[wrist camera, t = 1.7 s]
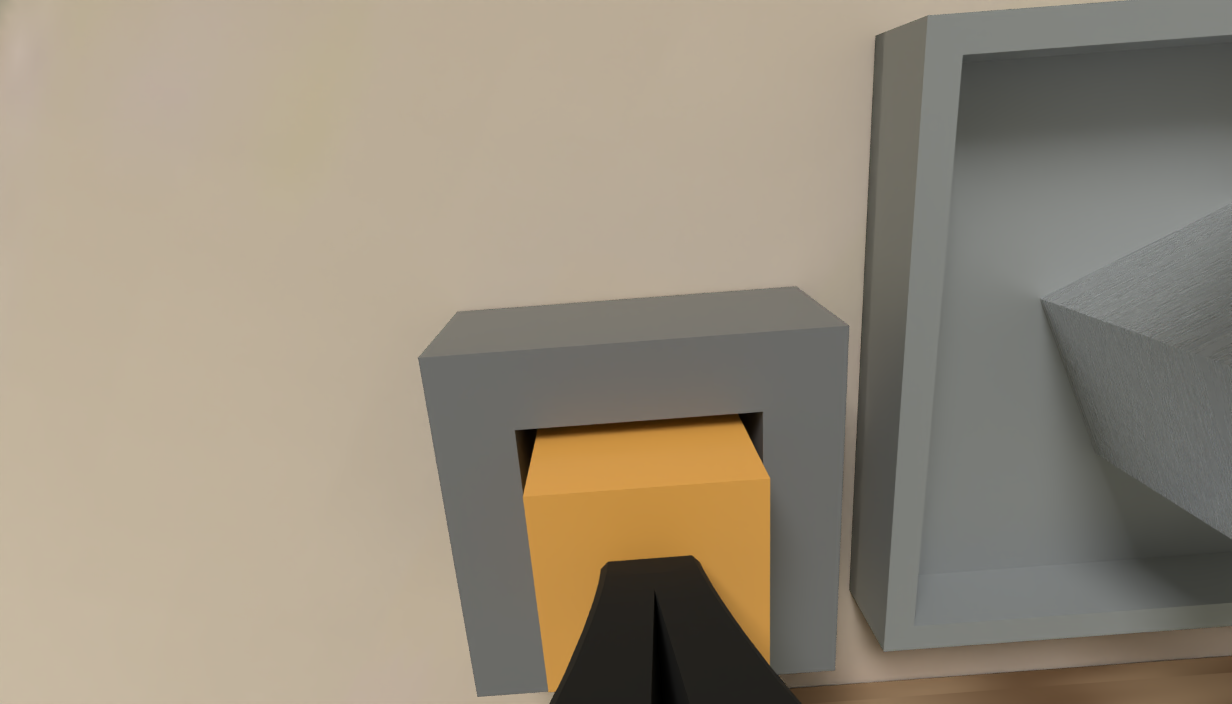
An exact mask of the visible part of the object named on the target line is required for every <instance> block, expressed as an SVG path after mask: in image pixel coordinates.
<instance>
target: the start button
mask: <svg viewBox="0 0 1232 704" xmlns="http://www.w3.org/2000/svg"><path fill="white" fill-rule="evenodd" d="M523 502H524V510H525V517H526V525H527V533H528V540H529V548H530V555H531V563H532V571H533V578H534V586H535V593H536V601H537V609H538V616H539V624H540V631H541V639H542V647H543V654H544V662H545V669H546V677H547V685H548V692H556V690H557V688H558V686H559V684H560V682H561V680H562V678H563V675H564V673H565V671H566V669H567V667H568V664H569V662H570V659H571V657H572V655H573V652H574V650H575V648H576V645H577V643H578V640H579V638H580V636H581V633H582V631H583V628H584V626H585V623H586V620H587V617H588V615H589V612H590V609H591V606H592V603H593V600H594V597H595V593H596V590H597V586H598V582H599V577H600V571H601V568H602V567H603V566H604V565H605V564H606V563H607V562H609V561H622V560H635V559H648V558H661V557H675V556H688V555H692V556H693V557H695V558H696V559H697V560H698V561H699V562H700V563H701V565H702V567H703V569H704V571H705V573H706V575H707V576H708V578H709V580H710V582H711V583H712V585H713V587H714V588H715V590H716V591H717V593H718V595H719V596H720V598H721V599H722V601H723V602H724V604H725V605H726V607H727V608H728V610H729V611H730V613H731V614H732V616H733V617H734V618H735V620H736V621H737V623H738V624H739V625H740V627H741V628H742V630H743V631H744V632H745V634H746V635H747V636H748V638H749V639H750V640H751V642H752V643H753V644H754V645H755V647H756V648H757V649H758V651H759V652H760V653H761V655H762V656H763V657H764V659H765V660H766V661H767V662H768V664H769V665H770V477H769V475H768V473H767V471H766V469H765V467H764V465H763V463H762V461H761V459H760V457H759V455H758V453H757V451H756V449H755V447H754V445H753V443H752V441H751V439H750V437H749V435H748V433H747V431H746V429H745V427H744V425H743V423H742V421H741V419H740V417H739V415H738V414H725V415H711V416H698V417H685V418H671V419H658V420H644V421H631V422H618V423H604V424H591V425H577V426H564V427H551V428H538V431H537V435H536V440H535V444H534V449H533V453H532V458H531V462H530V467H529V471H528V476H527V480H526V485H525V489H524V494H523Z"/></svg>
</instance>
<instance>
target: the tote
mask: <svg viewBox="0 0 1232 704" xmlns="http://www.w3.org/2000/svg"><path fill="white" fill-rule="evenodd" d="M1230 203H1232V0H1127V1H1114V2H1100V3H1087V4H1074V5H1061V6H1047V7H1034V8H1021V9H1008V10H995V11H981V12H968V13H955V14H942V15H928V16H925V17H923V18H920V19H918V20H915V21H912V22H910V23H907V24H905V25H902V26H900V27H897V28H894V29H892V30H889V31H887V32H884V33H882V34H879V35H876V40H875V61H874V82H873V103H872V124H871V145H870V166H869V188H868V209H867V230H866V251H865V272H864V293H863V314H862V336H861V357H860V378H859V399H858V420H857V441H856V462H855V484H854V505H853V526H852V547H851V568H850V589H849V590H850V592H851V593H852V595H853V597H854V599H855V601H856V603H857V604H858V606H859V608H860V610H861V612H862V613H863V615H864V617H865V619H866V621H867V622H868V624H869V626H870V628H871V630H872V631H873V633H874V635H875V637H876V639H877V640H878V642H879V644H880V646H881V648H882V649H883V651H884V652H885V651H898V650H912V649H925V648H939V647H952V646H966V645H979V644H993V643H1006V642H1020V641H1033V640H1047V639H1060V638H1074V637H1087V636H1101V635H1114V634H1128V633H1142V632H1155V631H1169V630H1182V629H1196V628H1209V627H1223V626H1232V539H1230V538H1229V537H1227V536H1226V535H1224V534H1222V533H1221V532H1219V531H1218V530H1216V529H1215V528H1213V527H1211V526H1210V525H1208V524H1207V523H1205V522H1203V521H1202V520H1200V519H1199V518H1197V517H1195V516H1194V515H1192V514H1191V513H1189V512H1188V511H1186V510H1184V509H1183V508H1181V507H1180V506H1178V505H1176V504H1175V503H1173V502H1172V501H1170V500H1168V499H1167V498H1165V497H1164V496H1162V495H1161V494H1159V493H1157V492H1156V491H1154V490H1153V489H1151V488H1149V487H1148V486H1146V485H1145V484H1143V483H1141V482H1140V481H1138V480H1137V479H1135V478H1134V477H1132V476H1130V475H1129V474H1127V473H1126V472H1124V471H1122V470H1121V469H1119V468H1118V467H1116V466H1114V465H1113V464H1111V463H1110V462H1108V461H1107V460H1105V459H1103V458H1102V457H1100V456H1099V455H1097V454H1095V451H1094V448H1093V445H1092V442H1091V440H1090V437H1089V434H1088V431H1087V428H1086V426H1085V423H1084V420H1083V417H1082V414H1081V412H1080V409H1079V406H1078V403H1077V400H1076V398H1075V395H1074V392H1073V389H1072V386H1071V384H1070V381H1069V378H1068V375H1067V372H1066V370H1065V367H1064V364H1063V361H1062V358H1061V356H1060V353H1059V350H1058V347H1057V344H1056V342H1055V339H1054V336H1053V333H1052V330H1051V328H1050V325H1049V322H1048V319H1047V316H1046V314H1045V311H1044V308H1043V305H1042V302H1041V300H1040V298H1042V297H1044V296H1046V295H1048V294H1050V293H1052V292H1054V291H1056V290H1058V289H1060V288H1062V287H1064V286H1066V285H1068V284H1070V283H1072V282H1074V281H1076V280H1078V279H1080V278H1082V277H1084V276H1086V275H1088V274H1090V273H1092V272H1094V271H1096V270H1098V269H1100V268H1102V267H1104V266H1106V265H1108V264H1110V263H1112V262H1114V261H1116V260H1118V259H1120V258H1122V257H1124V256H1126V255H1128V254H1130V253H1132V252H1134V251H1136V250H1138V249H1140V248H1142V247H1144V246H1146V245H1148V244H1150V243H1152V242H1154V241H1156V240H1158V239H1160V238H1162V237H1164V236H1166V235H1168V234H1170V233H1172V232H1174V231H1176V230H1178V229H1180V228H1182V227H1184V226H1186V225H1188V224H1190V223H1192V222H1194V221H1196V220H1198V219H1200V218H1202V217H1204V216H1206V215H1208V214H1210V213H1212V212H1214V211H1216V210H1218V209H1220V208H1222V207H1224V206H1226V205H1228V204H1230Z"/></svg>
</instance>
